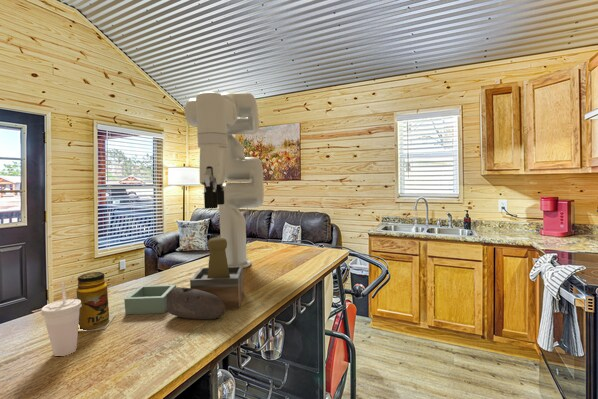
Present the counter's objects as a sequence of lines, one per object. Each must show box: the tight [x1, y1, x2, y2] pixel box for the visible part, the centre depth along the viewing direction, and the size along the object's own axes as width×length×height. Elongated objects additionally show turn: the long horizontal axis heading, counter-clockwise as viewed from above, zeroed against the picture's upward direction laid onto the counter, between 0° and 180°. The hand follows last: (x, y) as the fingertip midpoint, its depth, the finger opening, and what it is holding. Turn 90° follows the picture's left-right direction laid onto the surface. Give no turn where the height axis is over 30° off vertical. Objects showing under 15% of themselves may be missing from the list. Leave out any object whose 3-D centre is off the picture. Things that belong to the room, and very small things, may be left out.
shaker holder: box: [124, 284, 177, 315], centre depth 85 cm, size 10×10×4 cm
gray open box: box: [189, 266, 245, 311], centre depth 87 cm, size 11×12×8 cm
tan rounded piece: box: [207, 236, 230, 279], centre depth 86 cm, size 6×6×11 cm
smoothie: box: [40, 281, 82, 357], centre depth 63 cm, size 6×6×14 cm
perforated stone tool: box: [166, 286, 226, 320], centre depth 77 cm, size 15×5×7 cm, turn 74°
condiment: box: [76, 271, 116, 333], centre depth 75 cm, size 7×8×12 cm
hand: (215, 206), depth 85 cm, fingers open, 9 cm apart
